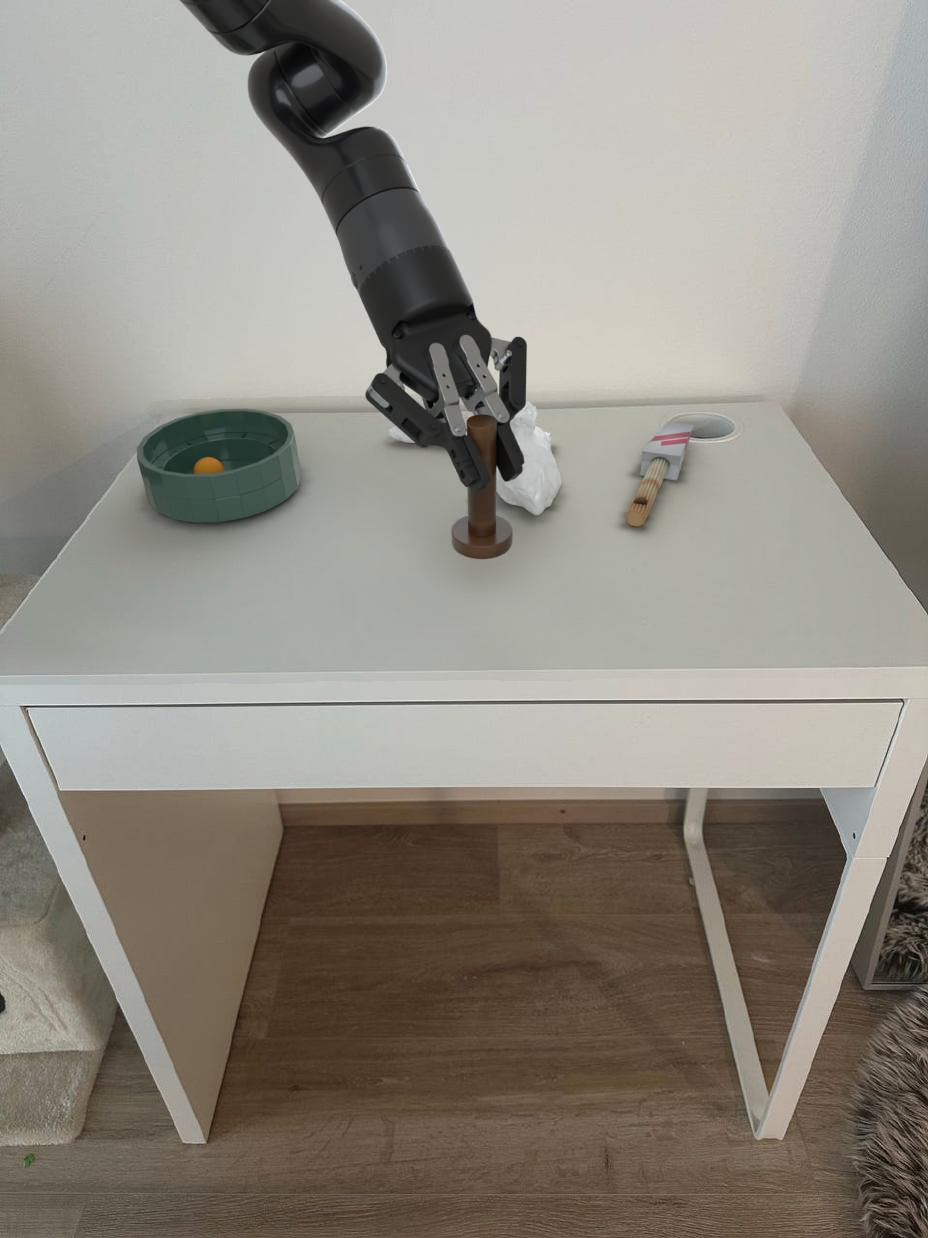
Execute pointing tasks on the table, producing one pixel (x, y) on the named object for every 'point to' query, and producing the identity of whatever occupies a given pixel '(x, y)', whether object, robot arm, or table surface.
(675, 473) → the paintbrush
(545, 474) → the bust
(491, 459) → the wooden peg stand
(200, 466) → the bead
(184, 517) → the bowl
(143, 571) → the table surface
